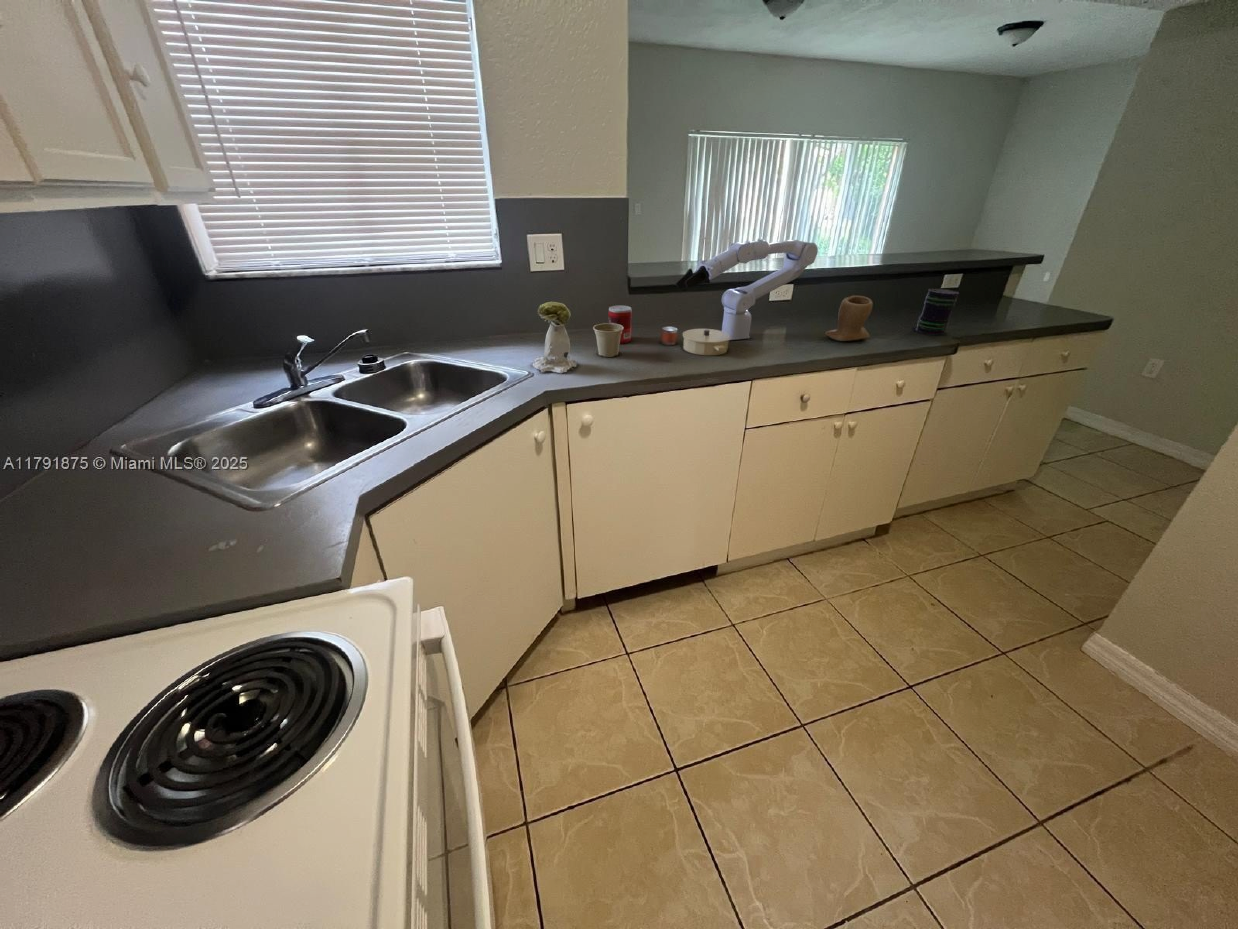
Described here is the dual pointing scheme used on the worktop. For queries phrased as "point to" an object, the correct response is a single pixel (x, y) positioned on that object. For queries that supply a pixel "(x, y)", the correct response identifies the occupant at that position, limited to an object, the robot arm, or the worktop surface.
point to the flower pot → (608, 338)
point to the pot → (705, 347)
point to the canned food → (621, 320)
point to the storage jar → (936, 311)
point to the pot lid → (706, 336)
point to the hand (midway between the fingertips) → (681, 285)
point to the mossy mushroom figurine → (555, 339)
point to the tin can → (669, 335)
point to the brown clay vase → (852, 319)
